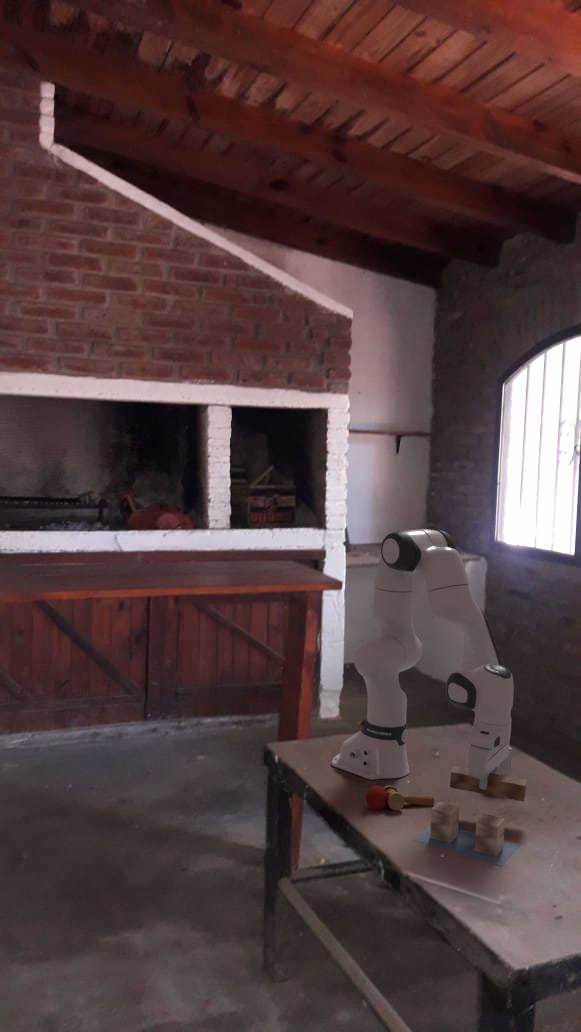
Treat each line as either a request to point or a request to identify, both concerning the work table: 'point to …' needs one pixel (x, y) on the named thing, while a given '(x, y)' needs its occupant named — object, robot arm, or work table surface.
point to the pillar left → (444, 822)
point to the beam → (496, 786)
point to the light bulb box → (505, 765)
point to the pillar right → (489, 834)
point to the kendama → (393, 798)
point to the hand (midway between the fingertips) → (487, 784)
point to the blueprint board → (468, 846)
